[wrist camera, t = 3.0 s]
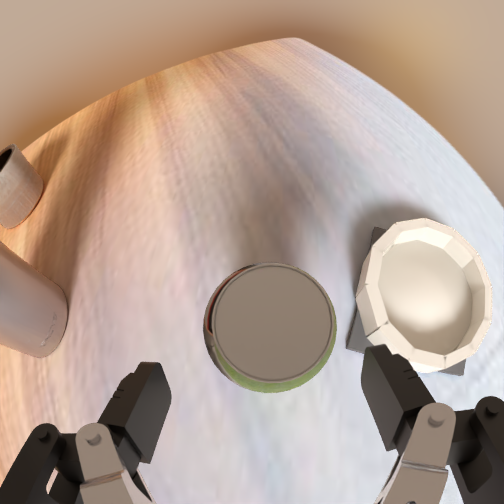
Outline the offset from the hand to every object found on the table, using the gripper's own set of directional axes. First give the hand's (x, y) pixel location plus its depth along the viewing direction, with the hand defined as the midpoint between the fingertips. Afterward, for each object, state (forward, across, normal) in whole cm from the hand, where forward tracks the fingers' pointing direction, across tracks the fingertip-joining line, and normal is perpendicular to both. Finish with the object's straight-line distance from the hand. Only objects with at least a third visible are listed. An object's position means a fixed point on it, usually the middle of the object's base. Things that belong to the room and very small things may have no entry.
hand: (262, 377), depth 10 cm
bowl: (+11, -14, +4) cm, 19 cm away
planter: (+26, +39, -10) cm, 48 cm away
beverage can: (+10, 0, +6) cm, 12 cm away
